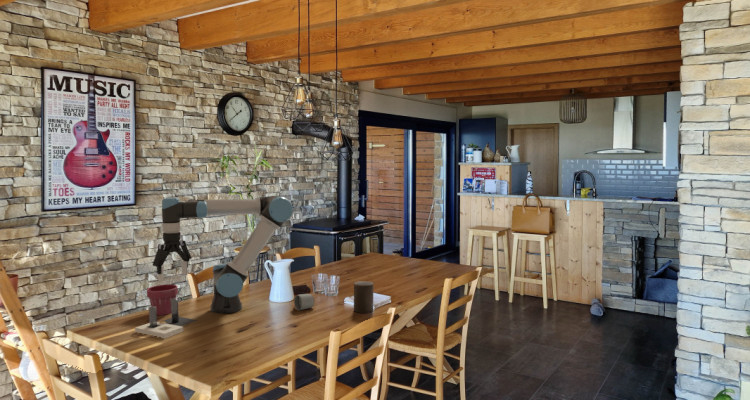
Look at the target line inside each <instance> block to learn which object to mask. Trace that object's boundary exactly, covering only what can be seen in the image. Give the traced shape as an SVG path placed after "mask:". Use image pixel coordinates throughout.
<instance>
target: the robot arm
mask: <svg viewBox="0 0 750 400" xmlns="http://www.w3.org/2000/svg"><path fill="white" fill-rule="evenodd" d="M293 212H294V207H293V204H292V202H291V201H290V200H289V199H288V198H287V197H284V196H281V195H270V196H258V197H257V198H248V199H246V198H242V199H237V198H235V199H234V198H233V199H229V198H228V199H220V198H219V199H195V198H191V199H188V200H187V201H180V198H179V197H164V198H163V199H162V200H161V218H162V221H161V222H162V232H163V233H162V240H163V243H159V244H158V245H157V251H156V253H155V256H154V259H153V261H152V267H156V274H157V277H158V278H157V279H158V280H157V281H158V282H165V272H164V270H165V269H164V266H163V265H164V263H165V261H166V260H167V258H168V256H169V255H170V254H172V253H177V254H178V256H179V257H180V259H182V260H181V276H188V268H189V262H190V261H191V259H192V255H191V253H190V251H189V249H188V247H187V244H186V240H181V238H182V237H181V232H180V231H181V219H202V218H207V217H208V216H211V215H212V216H215V215H218V216H221V215H226V216H229V215H231V216H232V215H256V216H258V217H259V218H260V221H259V222H258V223H257V225H256V226H255V228H254V229H253V230H252V232H251V234H249V237H248V238H247V240H246V241H245V242H244V244H243V245H242V247H241V248H240V250H239V251H238V252H237V254H236V256H235V257H234V258H233V259H232V261H230V262H229V261H228V262H227V263H222V264H221V263H220V264H215V265H213V266H212V275H213V276H212V277H213V279H212V280H213V282H212V283H213V297H212V300H211V305H210V312H212V313H214V314H231V313H232V314H233V313H236V312H237V313H238V312H239V311H242V309H243V304H242V302H241V299H240V295H239V294H240V293H241V292H242V290H243V288H244V287H243V286H244V283H245V281H246V280H247V279H248V277H249V274H248V273H249V270H250V269H251V267H252V266H253V264H254V262H255V261H256V260H257V258H258V257H259V256H260V253H261V252H262V251H263V249H264V248H265V246H266V245H267V243H268V242H269V241H270V239H271V237H272V236H273V234H274V232H275V231H276V230H279V229H281V228H282V227H283V225H284V223H286V222H287V221H288V220H289V219H291V217H292V216H293V214H294V213H293Z"/></svg>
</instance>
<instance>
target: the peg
mask: <svg viewBox="0 0 750 400" xmlns="http://www.w3.org/2000/svg"><path fill="white" fill-rule="evenodd" d="M170 314H171V318H172V323H178V322H179V317H180V316H179V315H180V314H179V298H178V297H176V298H172V299H171V313H170Z"/></svg>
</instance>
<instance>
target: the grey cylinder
mask: <svg viewBox="0 0 750 400" xmlns="http://www.w3.org/2000/svg"><path fill="white" fill-rule="evenodd" d="M293 299H294V300H293V304H294V307H295V309H296V310H297V311H303V310H307V309H311V308H314V306H315V302H316V301H315V297H314V295H313V294H311V293H302V294H301V293H300V294H296V295H295V297H294V298H293Z"/></svg>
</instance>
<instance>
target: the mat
mask: <svg viewBox="0 0 750 400" xmlns="http://www.w3.org/2000/svg"><path fill="white" fill-rule="evenodd" d="M163 321H165V322H166V323H165V324H171V325H176V326H181V327H184V326H185V325H188V324H191V323H194V322H196V321H198V319H195V318H188V317H183V316H179V322H178V323H172V317H170V318H167V319H164V320H163Z"/></svg>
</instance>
